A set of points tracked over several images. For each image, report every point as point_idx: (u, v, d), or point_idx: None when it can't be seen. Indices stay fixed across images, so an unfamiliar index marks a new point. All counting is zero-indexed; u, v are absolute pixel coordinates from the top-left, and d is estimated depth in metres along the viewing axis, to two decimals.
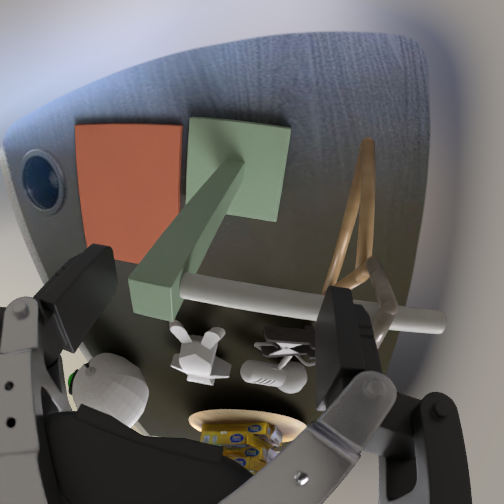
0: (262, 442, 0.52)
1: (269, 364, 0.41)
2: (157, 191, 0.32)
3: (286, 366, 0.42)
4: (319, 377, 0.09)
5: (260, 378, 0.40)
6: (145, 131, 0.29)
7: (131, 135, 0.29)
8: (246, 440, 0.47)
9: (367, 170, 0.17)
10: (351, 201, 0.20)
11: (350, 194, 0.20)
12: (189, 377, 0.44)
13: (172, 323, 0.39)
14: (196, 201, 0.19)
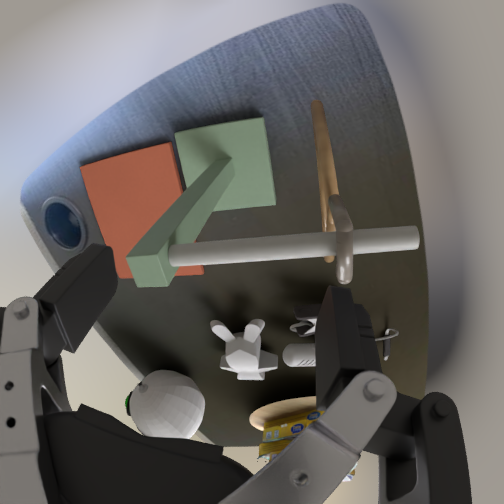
0: None
1: (309, 344, 0.42)
2: (165, 205, 0.36)
3: None
4: (319, 377, 0.09)
5: (302, 359, 0.41)
6: (140, 155, 0.33)
7: (130, 162, 0.34)
8: None
9: (318, 127, 0.19)
10: (319, 160, 0.22)
11: (317, 155, 0.22)
12: (239, 375, 0.47)
13: (213, 323, 0.42)
14: (184, 195, 0.22)
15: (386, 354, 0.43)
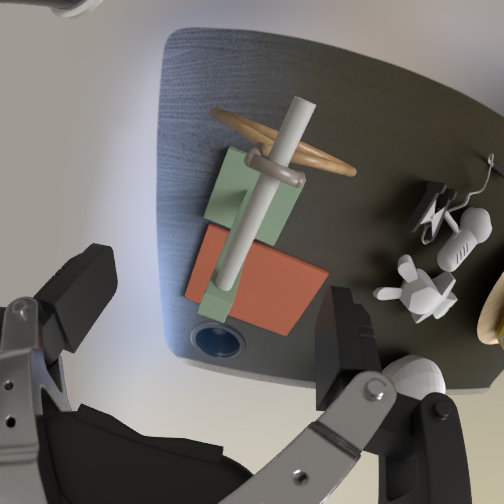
0: None
1: (450, 239, 0.34)
2: (253, 260, 0.42)
3: (461, 224, 0.33)
4: (319, 377, 0.09)
5: (456, 255, 0.33)
6: (205, 251, 0.43)
7: (205, 261, 0.43)
8: None
9: (224, 122, 0.22)
10: (259, 133, 0.24)
11: None
12: (435, 314, 0.40)
13: (375, 294, 0.40)
14: None
15: None
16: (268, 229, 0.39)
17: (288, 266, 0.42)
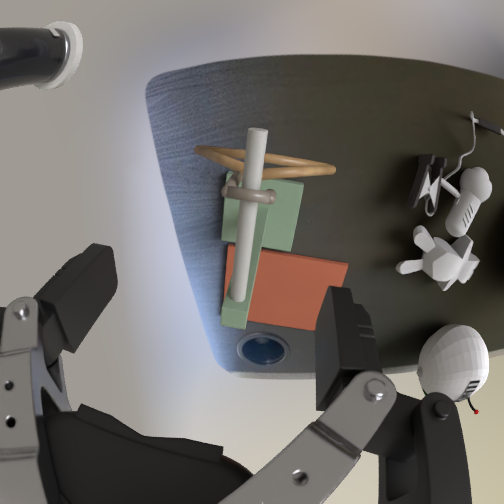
0: None
1: (453, 205, 0.34)
2: (276, 268, 0.45)
3: (461, 187, 0.33)
4: (319, 377, 0.09)
5: (462, 219, 0.32)
6: (231, 269, 0.46)
7: None
8: None
9: (207, 157, 0.26)
10: (241, 157, 0.27)
11: None
12: (460, 279, 0.38)
13: (398, 269, 0.40)
14: None
15: (498, 130, 0.28)
16: (282, 237, 0.42)
17: (309, 266, 0.44)
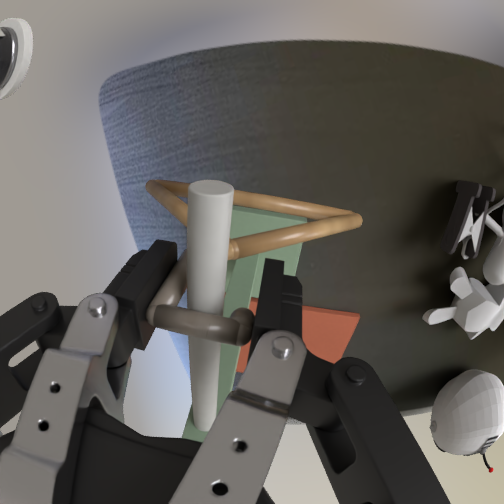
0: None
1: (494, 246, 0.24)
2: None
3: None
4: None
5: None
6: None
7: None
8: None
9: (160, 202, 0.17)
10: None
11: None
12: (492, 327, 0.29)
13: (425, 318, 0.30)
14: None
15: None
16: None
17: (312, 319, 0.35)
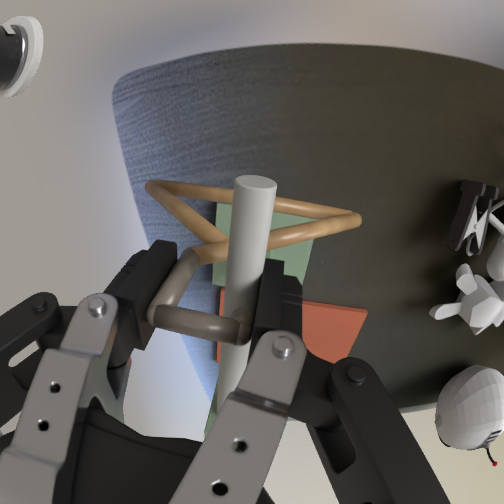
0: None
1: (497, 243, 0.25)
2: None
3: None
4: None
5: None
6: None
7: None
8: None
9: (160, 202, 0.17)
10: (213, 200, 0.18)
11: None
12: (495, 323, 0.29)
13: (432, 314, 0.30)
14: None
15: None
16: None
17: (321, 314, 0.35)
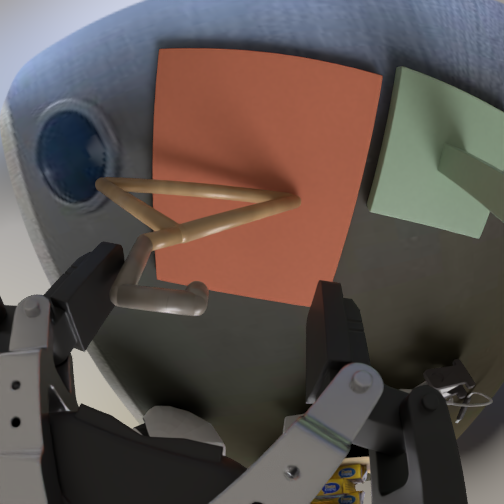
0: (350, 484, 0.38)
1: None
2: (323, 179, 0.19)
3: None
4: (309, 370, 0.09)
5: None
6: (317, 71, 0.15)
7: (286, 74, 0.16)
8: (343, 489, 0.34)
9: (111, 198, 0.16)
10: (160, 192, 0.18)
11: (154, 193, 0.18)
12: None
13: None
14: None
15: (461, 417, 0.30)
16: (403, 197, 0.18)
17: (326, 246, 0.21)
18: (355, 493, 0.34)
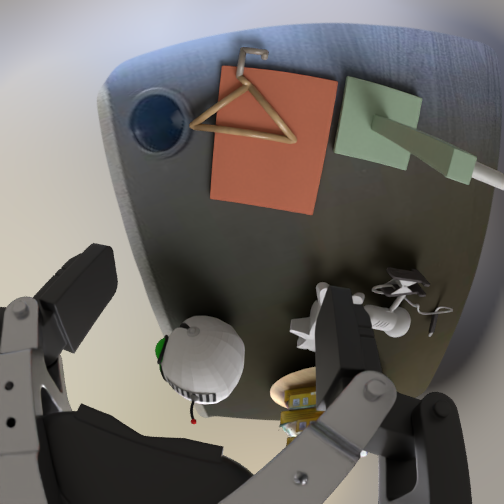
0: None
1: (383, 308, 0.44)
2: (308, 135, 0.35)
3: (394, 310, 0.44)
4: (319, 377, 0.09)
5: (378, 320, 0.42)
6: (304, 81, 0.31)
7: (288, 82, 0.32)
8: None
9: (204, 112, 0.34)
10: (224, 127, 0.35)
11: (221, 128, 0.35)
12: (305, 342, 0.48)
13: (324, 285, 0.42)
14: (412, 128, 0.22)
15: (432, 330, 0.46)
16: (352, 144, 0.34)
17: (311, 173, 0.37)
18: None
